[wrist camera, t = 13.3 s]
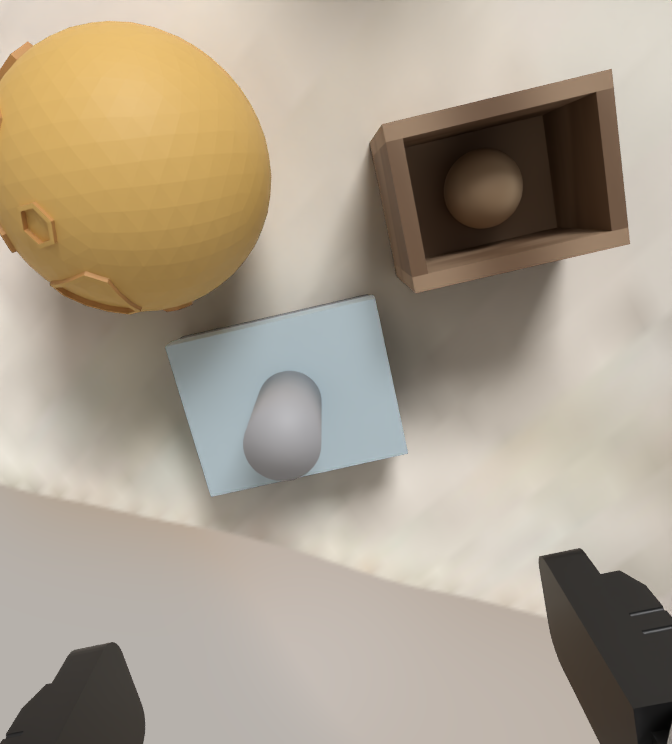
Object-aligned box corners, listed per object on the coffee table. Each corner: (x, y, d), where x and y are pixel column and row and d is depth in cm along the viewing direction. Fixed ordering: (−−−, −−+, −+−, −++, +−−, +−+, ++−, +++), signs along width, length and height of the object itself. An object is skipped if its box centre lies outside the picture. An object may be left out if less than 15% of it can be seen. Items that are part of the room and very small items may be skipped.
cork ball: (503, 144, 27) (527, 135, 24) (515, 218, 28) (539, 219, 24) (431, 161, 27) (445, 155, 24) (444, 234, 28) (459, 238, 25)
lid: (371, 291, 28) (387, 319, 21) (402, 436, 30) (426, 506, 23) (176, 336, 29) (127, 378, 21) (218, 476, 30) (186, 558, 23)
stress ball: (254, 73, 27) (17, -85, 20) (368, 173, 21) (91, 2, 14) (152, 257, 31) (-81, 179, 24) (225, 387, 25) (-55, 335, 18)
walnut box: (549, 99, 27) (611, 68, 21) (567, 237, 28) (630, 244, 23) (369, 142, 27) (382, 124, 21) (396, 276, 29) (415, 293, 23)
